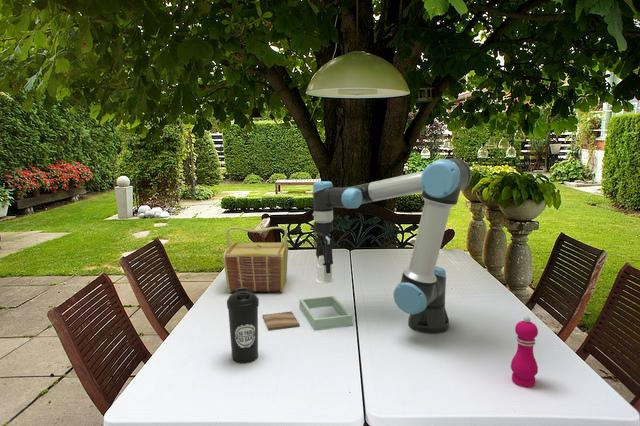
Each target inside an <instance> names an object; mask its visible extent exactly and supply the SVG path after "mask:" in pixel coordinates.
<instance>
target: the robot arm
mask: <svg viewBox="0 0 640 426" xmlns="http://www.w3.org/2000/svg"><path fill="white" fill-rule="evenodd" d="M471 180H472V171H471V168H470V166H469V164H468V163H467V162H466V161H465V160H462V159H461V158H458V157H457V158H456V157H454V158H453V157H451V158H441V159H436V160H434V161H432V162H431V163H429V164H428V165H427V166H426V167H425V168H424V169H423V170H422V171H417V172H412V173H408V174H404V175H399V176H395V177H391V178H385V179H381V180H375V181H371V182H367V183H363V184H357V185H353V186H346V187H334V186H333V183H332V181H323V180H322V181H315V182H314V183H313V186H312V187H313V188H312V198H313V199H312V200H313V213H312V216H313V221H314V222H313V230H314V232H315V233H316V234H315V236H316V242H315V243H316V244H315V249H316V251H315V256H316V258H317V265H318V264H319V256H321V255H324V263H325V264H323V265H324V281H331V265H333V264H334V261H333V259H334V257H333V239H332V238H331V236H330V234H329V233H331V232H333V231H334V221H333V220H334V208H341V209H342V208H343V209H347V210H348V209H349V210H350V209H358V208H359V207H360V206H361V205H363V204H368V203H373V202H378V201H383V200H389V199H394V198H398V197H399V198H400V197H405V196H410V195H414V194H415V195H416V194H419V193H421V198H422V199H423V201H424V205H423V208H422V212H421V216H420V221H419V225H418V228H417V233H416V238H415V239H414V240H415V241H414V244H413V249H412V254H411V257H410V261H409V264H408V265H409V266H407V267H406V268H403V271H402V276H401V279H400V283H398V284H397V285H396V286H395V288H394V291H393V300H394V303H395V304H396V306H397V307H398V308H399V309H400V311H402V312H404V313H406V314H408V315H409V316H408V318H407V319H408V324H407V325H408V327H409V328H410V329H411V330H413V331H416V332H419V333H424V334H440V333H445V332H447V331H448V330H449V328H450V320H449V316H448V313H447V310H446V286H447V285H446V284H447V275H446V274H447V271H446V269H444V268H443V267H440V266H436V265H437V261H438V258H439V255H440V250H441V247H442V243H443V239H444V235H445V231H446V228H447V223H448V220H449V216H450V212H451V209H452V208H453V207H455V206H457V204H458V201H459V197H460V194H461V191H463V190H464V189H466V188H467V187H468V186H469V184H470V183H471Z"/></svg>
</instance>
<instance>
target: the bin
mask: <svg viewBox="0 0 640 426" xmlns="http://www.w3.org/2000/svg"><path fill="white" fill-rule="evenodd" d="M330 306H331V307H332V308H333V309H334V310H335V311H336V312H337V314H338V313H339V314H338V315H335V316H326V317H319V318H318V317H316V316H315V314H314V313H313V312H312V310H311V309H314V308H322V307H330ZM299 309H300V311H301V312H302V314H303V315H304V317H305V319H306V320H307V321H308V323H309V324H310V326H311V327H312V329H313V330H314V331H321V330H330V329H335V328H343V327H351V326H353V315H352V313H350V311H348V310H347V308H346V307H345V306H344V305H343V304H342V303H341V302H340V301H339V300H338V299H337V298H336V297H335V295H328V296H327V295H325V296H317V297H307V298H300V299H299Z"/></svg>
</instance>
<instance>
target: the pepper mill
mask: <svg viewBox="0 0 640 426" xmlns="http://www.w3.org/2000/svg"><path fill="white" fill-rule="evenodd" d="M514 332H515V335H516V337H515V338H516V343H517V349H516V352H515V354H514V356H513V358H512V360H511V362H510V369H511V371H512V375H511V381H512V383H513V384H515V385H516V386H520V387H522V388H531V387H532V388H533V387H534V386H535V385H536V377H535V376H536V375H537V374H538V373H539V367H538V363H537V361H536V358H535V355H534V346H535V345H536V338H537V336H538V334H539V329H538V327H537V325H536V324H535V323H534V322H532V321H531V318H530V316H524V318H523V320H521V321H518V322H517V323H516V324H515V328H514Z"/></svg>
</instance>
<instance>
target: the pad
mask: <svg viewBox="0 0 640 426" xmlns="http://www.w3.org/2000/svg"><path fill="white" fill-rule="evenodd" d="M262 319H263V321H264V323H265V325H266V328H267V330H268V331H277V330H284V329H292V328H299V327H301V326H300V322H299V321H298V319H297V318H296V316H295V314H294V313H293V311H283V312H276V313H266V314H262Z"/></svg>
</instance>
